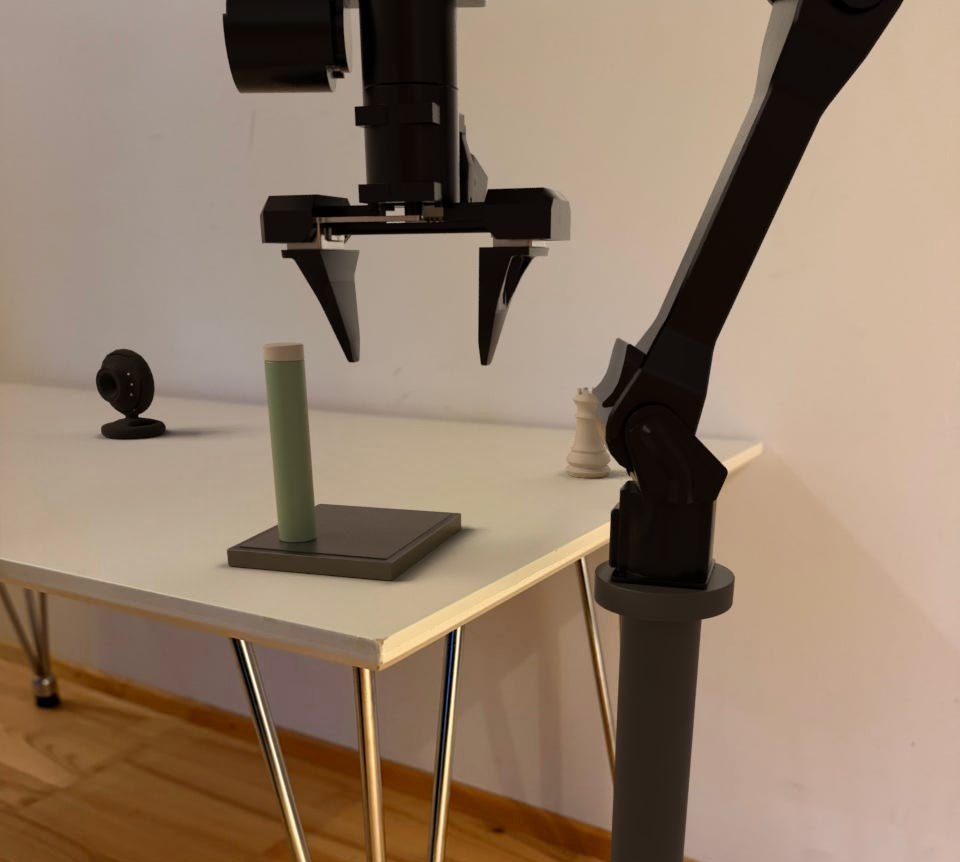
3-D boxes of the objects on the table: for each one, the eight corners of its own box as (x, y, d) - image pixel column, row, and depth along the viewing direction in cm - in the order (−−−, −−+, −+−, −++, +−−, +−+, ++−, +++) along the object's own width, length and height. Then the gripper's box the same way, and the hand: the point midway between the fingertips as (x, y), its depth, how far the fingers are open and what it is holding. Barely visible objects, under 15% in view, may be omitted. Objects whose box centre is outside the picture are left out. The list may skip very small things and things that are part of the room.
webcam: (87, 436, 118) (74, 350, 115) (135, 427, 124) (124, 345, 121) (132, 441, 115) (120, 352, 111) (180, 432, 121) (170, 347, 117)
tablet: (461, 528, 76) (461, 512, 75) (391, 581, 63) (390, 562, 63) (320, 518, 79) (319, 502, 79) (228, 566, 67) (226, 548, 66)
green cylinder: (311, 531, 70) (297, 341, 65) (321, 540, 68) (307, 344, 63) (275, 535, 69) (258, 343, 64) (284, 544, 67) (267, 346, 62)
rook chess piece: (605, 468, 97) (608, 385, 94) (616, 477, 93) (619, 391, 90) (560, 470, 96) (562, 386, 94) (569, 479, 92) (571, 392, 89)
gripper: (592, 102, 63) (585, 355, 68) (328, 117, 68) (341, 350, 74) (550, 73, 53) (546, 372, 58) (244, 93, 58) (267, 365, 64)
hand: (418, 363), depth 64 cm, fingers open, 9 cm apart
